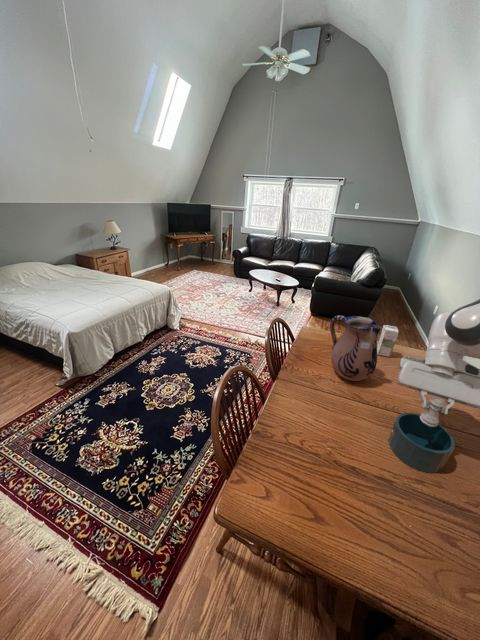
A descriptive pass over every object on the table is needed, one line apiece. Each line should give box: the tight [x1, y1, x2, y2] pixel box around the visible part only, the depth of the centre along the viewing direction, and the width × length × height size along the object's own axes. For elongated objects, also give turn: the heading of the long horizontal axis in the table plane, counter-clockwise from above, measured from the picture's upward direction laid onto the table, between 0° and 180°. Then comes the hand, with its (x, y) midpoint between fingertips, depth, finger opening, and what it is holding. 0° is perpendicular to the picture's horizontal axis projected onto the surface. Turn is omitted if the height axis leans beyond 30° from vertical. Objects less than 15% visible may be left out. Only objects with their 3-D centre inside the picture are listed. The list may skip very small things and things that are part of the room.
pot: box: [388, 412, 456, 474], centre depth 79 cm, size 15×15×8 cm
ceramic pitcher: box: [329, 315, 382, 382], centre depth 111 cm, size 18×21×25 cm
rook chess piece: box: [420, 396, 445, 427], centre depth 75 cm, size 4×4×8 cm
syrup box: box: [377, 324, 400, 358], centre depth 130 cm, size 6×6×14 cm
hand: (433, 411), depth 74 cm, fingers closed on rook chess piece, 3 cm apart
